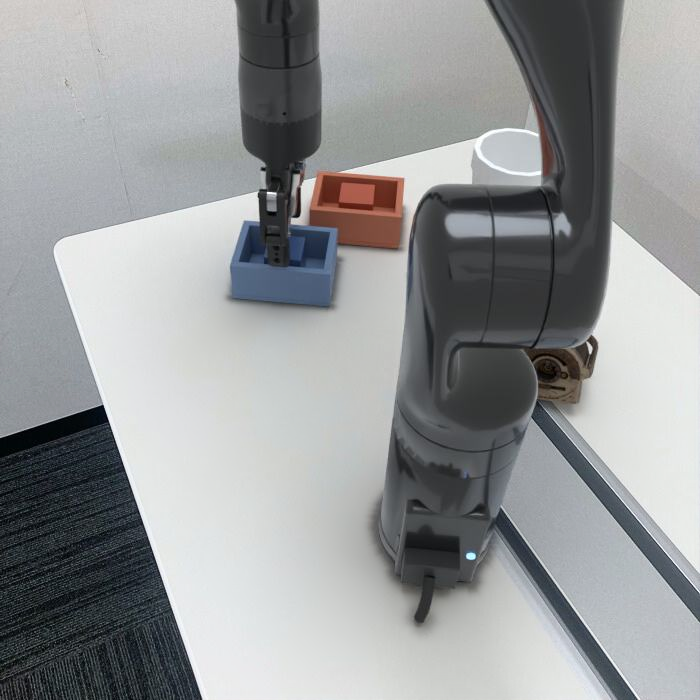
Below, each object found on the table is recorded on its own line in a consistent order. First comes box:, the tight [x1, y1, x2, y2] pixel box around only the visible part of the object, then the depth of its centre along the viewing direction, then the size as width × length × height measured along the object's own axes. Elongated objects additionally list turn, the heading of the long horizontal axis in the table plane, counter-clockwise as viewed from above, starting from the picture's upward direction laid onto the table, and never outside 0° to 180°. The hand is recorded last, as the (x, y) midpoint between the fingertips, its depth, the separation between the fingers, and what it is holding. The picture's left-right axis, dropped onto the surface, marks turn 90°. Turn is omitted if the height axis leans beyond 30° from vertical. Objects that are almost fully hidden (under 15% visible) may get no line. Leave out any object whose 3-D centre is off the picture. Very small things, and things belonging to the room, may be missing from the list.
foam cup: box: [470, 127, 541, 186], centre depth 85 cm, size 10×9×13 cm
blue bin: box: [229, 220, 338, 308], centre depth 83 cm, size 8×11×5 cm
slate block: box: [264, 236, 306, 268], centre depth 83 cm, size 4×4×4 cm
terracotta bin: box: [308, 170, 405, 250], centre depth 90 cm, size 8×11×5 cm
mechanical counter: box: [522, 333, 599, 405], centre depth 74 cm, size 7×13×10 cm
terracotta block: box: [339, 183, 375, 211], centre depth 90 cm, size 4×4×4 cm
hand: (285, 239), depth 81 cm, fingers open, 8 cm apart
